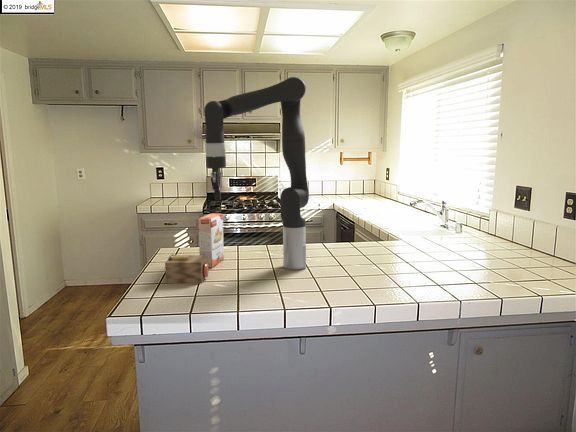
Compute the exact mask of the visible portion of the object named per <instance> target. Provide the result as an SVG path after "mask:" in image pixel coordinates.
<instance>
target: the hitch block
mask: <svg viewBox="0 0 576 432" xmlns="http://www.w3.org/2000/svg"><path fill="white" fill-rule="evenodd" d="M189 255H190V254H189ZM203 264H206V255H200V254H193V255H190V258H189V259H188V260H169V259H168V258H167V260H166V261H165V262H164V267H165V271H164V272H165V282H166V283H165V284H166V285H170V284H171V285H172V284H173V285H180V284H181V285H182V284H183V285H185V284H191V285H193V284H195V285H196V284H198V285H199V284H201V285H202V284H203V282H204V281H205V279H206V277H203Z"/></svg>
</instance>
